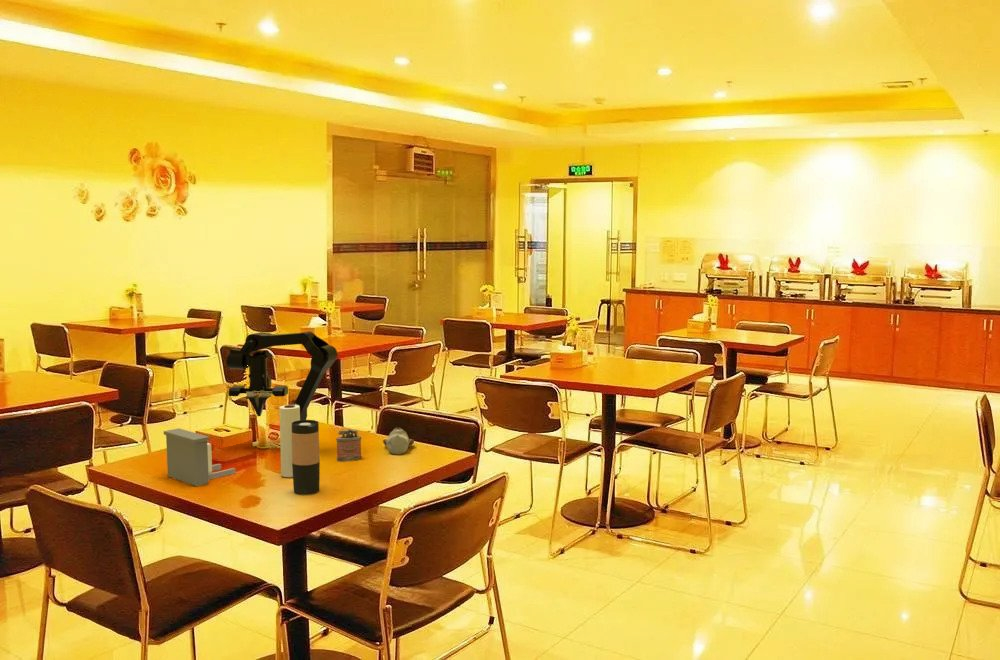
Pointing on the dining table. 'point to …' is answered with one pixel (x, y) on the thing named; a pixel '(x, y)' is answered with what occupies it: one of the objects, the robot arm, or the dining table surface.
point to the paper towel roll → (287, 436)
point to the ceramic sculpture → (398, 441)
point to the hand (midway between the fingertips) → (259, 416)
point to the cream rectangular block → (209, 458)
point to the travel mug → (305, 457)
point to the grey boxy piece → (190, 458)
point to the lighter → (348, 445)
